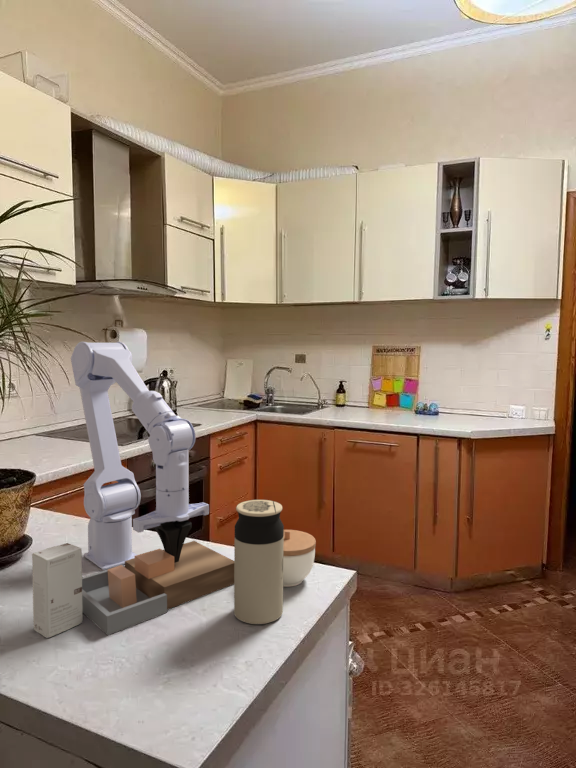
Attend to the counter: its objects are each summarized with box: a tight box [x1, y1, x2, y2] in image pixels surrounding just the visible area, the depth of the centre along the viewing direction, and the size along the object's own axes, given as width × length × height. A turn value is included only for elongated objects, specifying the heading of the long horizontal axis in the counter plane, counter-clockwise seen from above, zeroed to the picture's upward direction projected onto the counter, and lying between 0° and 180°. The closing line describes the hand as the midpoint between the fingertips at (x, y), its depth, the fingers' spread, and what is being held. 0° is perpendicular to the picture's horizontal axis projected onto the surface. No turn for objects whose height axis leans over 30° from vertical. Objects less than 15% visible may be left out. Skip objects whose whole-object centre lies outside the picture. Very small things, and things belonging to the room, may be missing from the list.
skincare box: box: [31, 542, 84, 639], centre depth 83 cm, size 6×4×12 cm
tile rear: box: [135, 548, 174, 579], centre depth 94 cm, size 5×5×2 cm
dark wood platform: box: [124, 540, 234, 611], centre depth 98 cm, size 14×15×4 cm
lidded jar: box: [283, 529, 317, 588], centre depth 100 cm, size 11×11×9 cm
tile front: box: [107, 565, 137, 608], centre depth 90 cm, size 5×5×2 cm
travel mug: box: [233, 499, 285, 625], centre depth 87 cm, size 8×8×18 cm
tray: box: [82, 564, 168, 636], centre depth 90 cm, size 16×10×3 cm, turn 43°
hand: (172, 560), depth 97 cm, fingers closed
